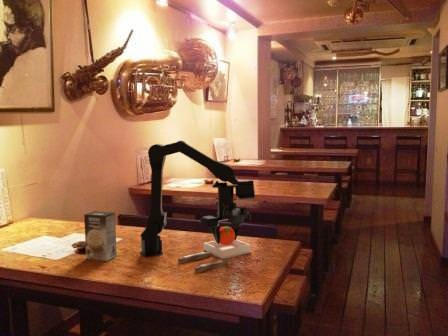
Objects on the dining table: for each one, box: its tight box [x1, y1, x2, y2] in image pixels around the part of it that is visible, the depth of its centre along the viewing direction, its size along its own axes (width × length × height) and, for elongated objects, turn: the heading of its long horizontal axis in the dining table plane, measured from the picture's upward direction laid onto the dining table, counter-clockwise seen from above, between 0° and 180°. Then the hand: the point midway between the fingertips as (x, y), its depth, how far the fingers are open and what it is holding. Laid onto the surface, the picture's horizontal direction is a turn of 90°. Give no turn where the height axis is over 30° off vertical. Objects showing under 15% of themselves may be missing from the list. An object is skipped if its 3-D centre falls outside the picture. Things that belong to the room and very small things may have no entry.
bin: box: [203, 238, 251, 260], centre depth 147 cm, size 12×12×3 cm
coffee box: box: [83, 210, 118, 262], centre depth 142 cm, size 9×6×16 cm
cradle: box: [177, 251, 228, 274], centre depth 134 cm, size 12×12×2 cm
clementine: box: [219, 225, 235, 246], centre depth 146 cm, size 8×7×7 cm
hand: (226, 241), depth 147 cm, fingers closed on clementine, 7 cm apart
